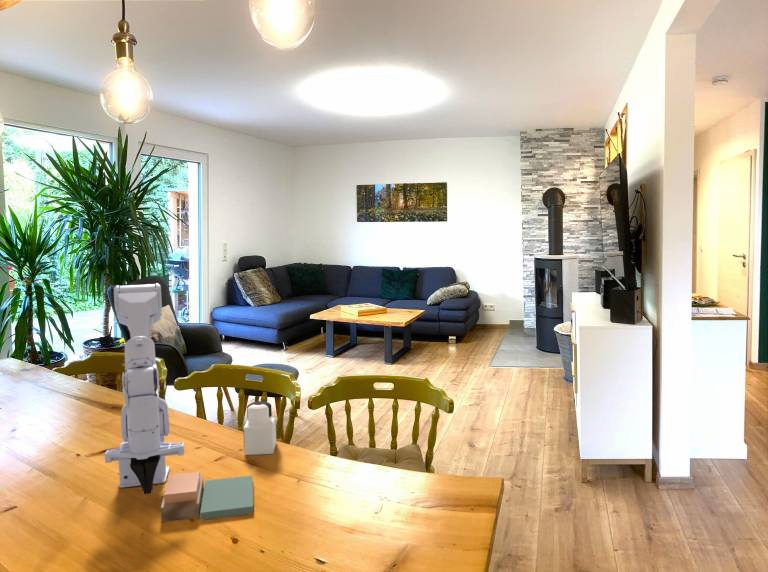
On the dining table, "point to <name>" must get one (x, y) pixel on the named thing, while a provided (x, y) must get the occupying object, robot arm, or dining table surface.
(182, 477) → the terracotta tile
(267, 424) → the medicine bottle
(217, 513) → the teal rectangular slab
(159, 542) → the dining table surface
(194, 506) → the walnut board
